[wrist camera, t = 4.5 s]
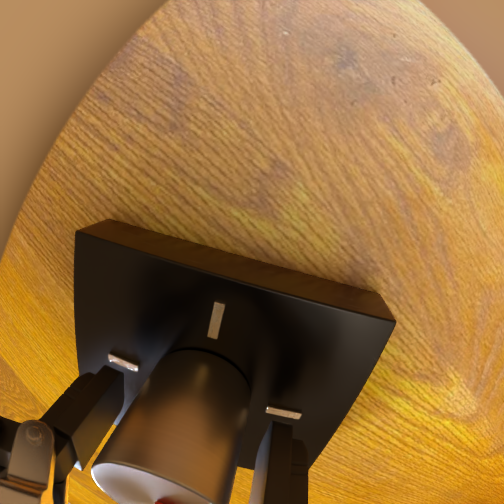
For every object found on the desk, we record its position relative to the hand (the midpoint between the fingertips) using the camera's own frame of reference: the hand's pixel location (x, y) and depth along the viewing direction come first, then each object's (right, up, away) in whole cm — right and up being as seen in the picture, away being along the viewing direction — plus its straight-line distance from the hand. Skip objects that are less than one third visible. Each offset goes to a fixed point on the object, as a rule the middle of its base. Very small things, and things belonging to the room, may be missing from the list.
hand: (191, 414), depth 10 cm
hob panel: (0, +1, +4) cm, 4 cm away
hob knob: (0, 0, +1) cm, 1 cm away
